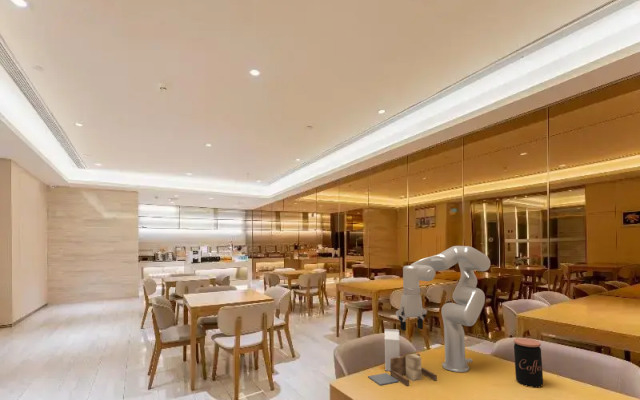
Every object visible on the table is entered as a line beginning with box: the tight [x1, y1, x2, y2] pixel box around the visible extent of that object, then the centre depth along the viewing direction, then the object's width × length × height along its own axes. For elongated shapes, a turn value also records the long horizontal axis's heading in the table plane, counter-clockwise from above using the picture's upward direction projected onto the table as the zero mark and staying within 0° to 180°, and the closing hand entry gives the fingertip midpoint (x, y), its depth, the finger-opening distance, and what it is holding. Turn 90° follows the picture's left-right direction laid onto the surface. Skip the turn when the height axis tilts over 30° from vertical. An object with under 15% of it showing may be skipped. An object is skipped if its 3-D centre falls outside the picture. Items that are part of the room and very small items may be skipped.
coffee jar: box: [513, 337, 544, 388], centre depth 157 cm, size 11×11×18 cm
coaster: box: [367, 372, 400, 386], centre depth 159 cm, size 10×10×1 cm
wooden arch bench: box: [390, 353, 438, 387], centre depth 161 cm, size 16×13×8 cm
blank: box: [405, 353, 423, 382], centre depth 161 cm, size 5×5×10 cm
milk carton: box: [384, 328, 401, 372], centre depth 174 cm, size 7×7×19 cm
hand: (411, 329), depth 163 cm, fingers open, 9 cm apart
